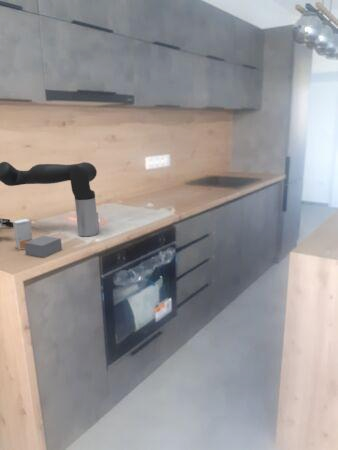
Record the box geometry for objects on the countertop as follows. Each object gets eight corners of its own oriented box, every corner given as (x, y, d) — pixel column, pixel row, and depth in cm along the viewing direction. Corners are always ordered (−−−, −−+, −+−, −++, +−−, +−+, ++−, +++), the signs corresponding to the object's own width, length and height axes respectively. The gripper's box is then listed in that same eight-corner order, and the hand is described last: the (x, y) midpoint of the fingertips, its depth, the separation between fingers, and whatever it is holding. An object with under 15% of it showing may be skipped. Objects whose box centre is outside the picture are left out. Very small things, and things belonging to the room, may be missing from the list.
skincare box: (19, 250, 154) (15, 223, 151) (16, 247, 157) (12, 220, 154) (34, 247, 157) (30, 220, 154) (31, 244, 161) (27, 218, 157)
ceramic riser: (44, 246, 158) (42, 235, 156) (61, 249, 153) (60, 238, 152) (25, 254, 149) (24, 242, 148) (43, 257, 145) (42, 245, 143)
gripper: (-5, 227, 175) (18, 231, 167) (-33, 235, 163) (-9, 240, 155) (-8, 211, 173) (16, 215, 165) (-36, 219, 161) (-12, 223, 153)
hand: (4, 227), depth 160 cm, fingers open, 8 cm apart
